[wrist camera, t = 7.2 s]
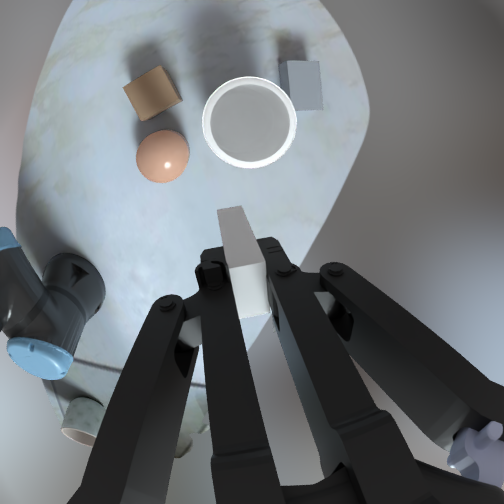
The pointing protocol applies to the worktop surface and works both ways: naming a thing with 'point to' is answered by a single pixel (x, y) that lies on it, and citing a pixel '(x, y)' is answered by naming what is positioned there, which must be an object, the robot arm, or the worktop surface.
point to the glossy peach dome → (163, 156)
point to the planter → (83, 420)
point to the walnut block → (152, 93)
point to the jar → (249, 122)
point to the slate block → (302, 84)
